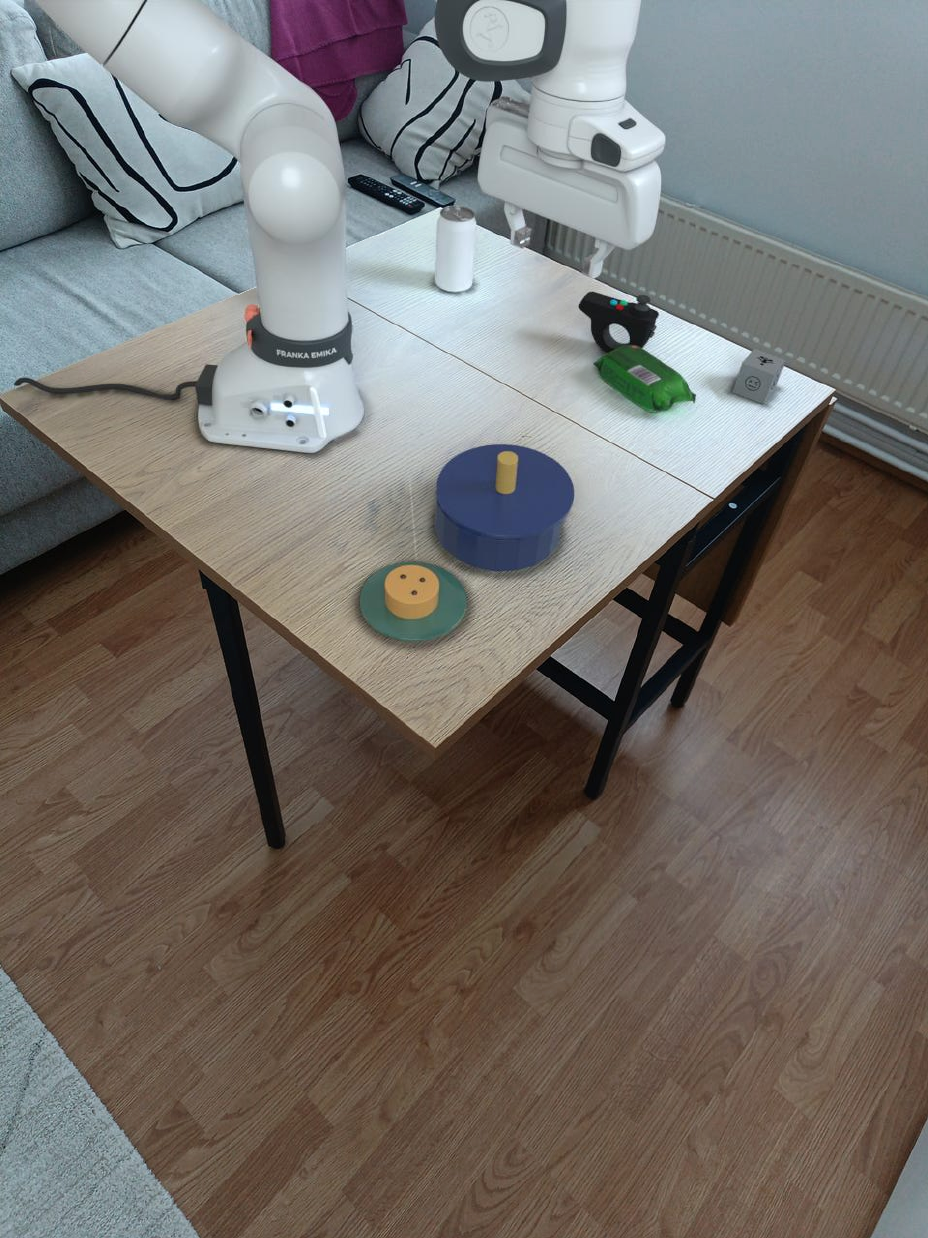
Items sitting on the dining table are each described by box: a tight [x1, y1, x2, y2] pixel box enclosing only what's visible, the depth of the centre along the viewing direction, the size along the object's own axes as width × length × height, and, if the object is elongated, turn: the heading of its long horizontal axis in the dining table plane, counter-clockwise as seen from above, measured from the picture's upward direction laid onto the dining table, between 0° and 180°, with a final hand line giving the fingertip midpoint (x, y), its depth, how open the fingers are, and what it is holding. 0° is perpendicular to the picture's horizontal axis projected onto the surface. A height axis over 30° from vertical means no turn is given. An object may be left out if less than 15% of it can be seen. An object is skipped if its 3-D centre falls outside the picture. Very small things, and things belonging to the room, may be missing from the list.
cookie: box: [385, 565, 439, 619], centre depth 97 cm, size 6×6×3 cm
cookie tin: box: [433, 494, 563, 572], centre depth 106 cm, size 15×15×6 cm
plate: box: [359, 561, 468, 643], centre depth 98 cm, size 12×12×1 cm
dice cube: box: [731, 348, 787, 405], centre depth 130 cm, size 5×5×5 cm
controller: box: [577, 291, 660, 354], centre depth 134 cm, size 4×12×10 cm, turn 61°
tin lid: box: [435, 443, 575, 540], centre depth 102 cm, size 16×16×6 cm
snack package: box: [593, 345, 697, 414], centre depth 128 cm, size 7×16×5 cm, turn 35°
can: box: [434, 205, 477, 294], centre depth 144 cm, size 6×6×12 cm
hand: (554, 259), depth 94 cm, fingers open, 8 cm apart
